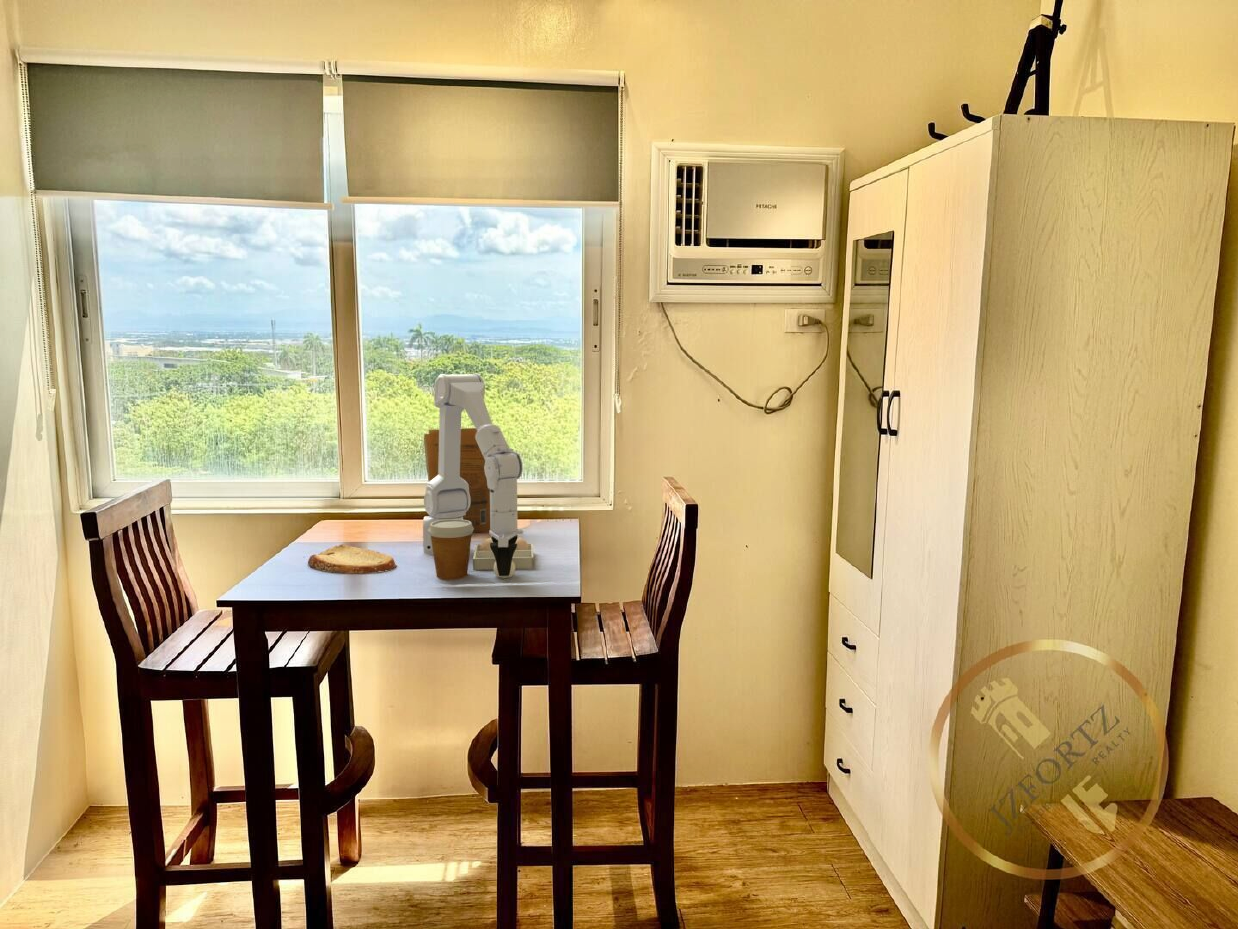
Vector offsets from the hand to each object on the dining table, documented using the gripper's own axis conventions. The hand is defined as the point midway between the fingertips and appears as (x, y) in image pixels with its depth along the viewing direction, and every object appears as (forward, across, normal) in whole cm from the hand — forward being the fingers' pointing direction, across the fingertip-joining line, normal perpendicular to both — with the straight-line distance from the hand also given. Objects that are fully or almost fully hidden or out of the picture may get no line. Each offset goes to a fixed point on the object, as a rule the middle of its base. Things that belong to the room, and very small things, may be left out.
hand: (504, 572), depth 171 cm
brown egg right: (+1, +16, -3) cm, 16 cm away
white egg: (+1, 0, 0) cm, 1 cm away
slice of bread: (+2, +15, +35) cm, 38 cm away
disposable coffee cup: (+2, +1, +11) cm, 11 cm away
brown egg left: (+1, +16, +4) cm, 16 cm away
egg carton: (+2, +12, 0) cm, 12 cm away
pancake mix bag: (+2, +46, +12) cm, 48 cm away
